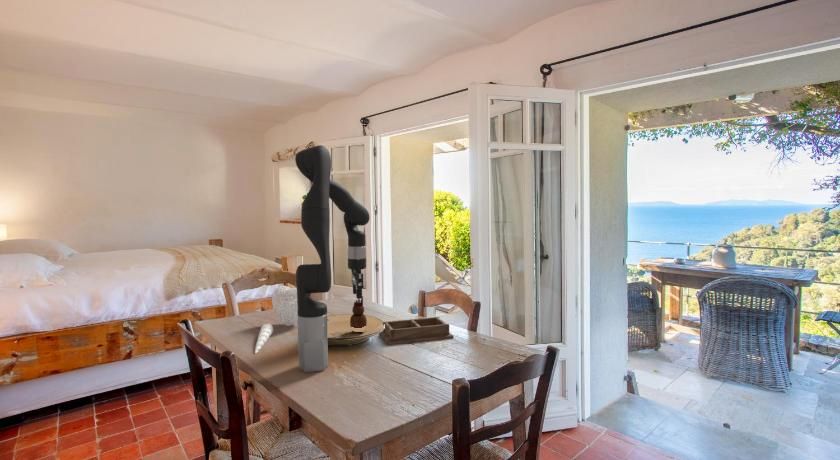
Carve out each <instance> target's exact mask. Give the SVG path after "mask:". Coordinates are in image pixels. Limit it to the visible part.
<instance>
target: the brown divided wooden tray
mask: <svg viewBox="0 0 840 460" xmlns="http://www.w3.org/2000/svg"><path fill="white" fill-rule="evenodd" d="M384 324H385V329H384V330H383V329H382V330H383V331H382V332H381V333H380V332H379V334H380V335H381V337H382V338H383V339H384V341H385V342H386V343H387V345H388V346H394V345H406V344H412V343H413V344H414V343H422V342H433V341H440V340H441V341H442V340H450V339H449V338H451V339H454V338H455V337H454V335H453V334H452V333H451V332H450V323H447V322H445V321H444V320H442V319H441V318H440V317H439V316H434V317H424V318H410V319H402V320H388V321H383V322H382V326H383V325H384Z"/></svg>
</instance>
